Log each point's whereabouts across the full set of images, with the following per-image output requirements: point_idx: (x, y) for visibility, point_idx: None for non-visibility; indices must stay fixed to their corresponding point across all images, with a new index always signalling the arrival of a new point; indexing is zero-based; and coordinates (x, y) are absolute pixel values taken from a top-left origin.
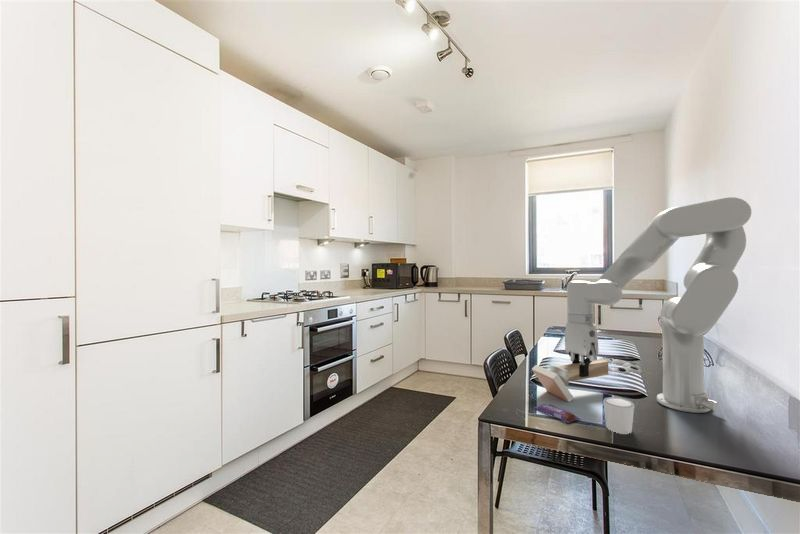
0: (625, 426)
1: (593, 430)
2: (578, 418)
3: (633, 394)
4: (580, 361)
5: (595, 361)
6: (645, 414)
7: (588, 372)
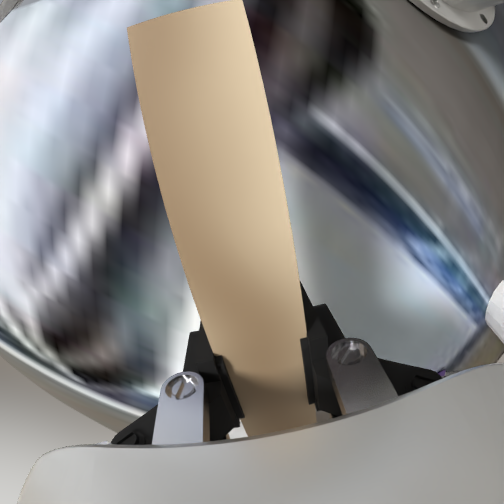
0: None
1: (479, 356)
2: (442, 374)
3: (324, 13)
4: (214, 367)
5: (206, 165)
6: (490, 157)
7: (303, 290)
